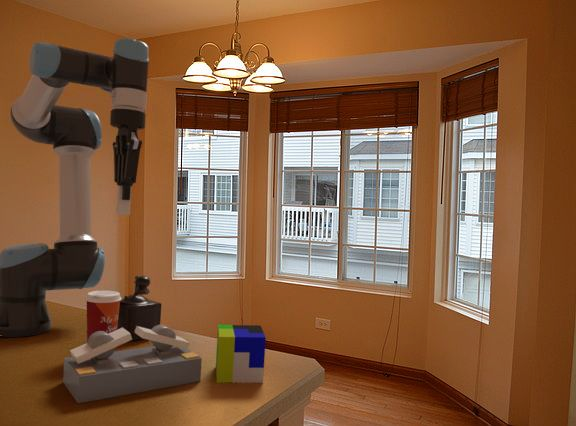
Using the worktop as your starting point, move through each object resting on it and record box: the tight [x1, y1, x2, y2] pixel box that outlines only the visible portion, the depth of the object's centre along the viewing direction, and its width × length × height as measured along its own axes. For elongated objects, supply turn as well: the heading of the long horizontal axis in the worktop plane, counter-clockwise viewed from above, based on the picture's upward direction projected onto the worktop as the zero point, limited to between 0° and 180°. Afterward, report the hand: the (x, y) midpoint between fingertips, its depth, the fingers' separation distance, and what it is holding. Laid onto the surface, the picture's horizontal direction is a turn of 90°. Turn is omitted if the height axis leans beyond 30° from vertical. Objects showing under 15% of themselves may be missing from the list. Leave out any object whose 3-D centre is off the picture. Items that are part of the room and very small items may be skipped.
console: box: [62, 345, 202, 404], centre depth 106 cm, size 12×25×6 cm, turn 126°
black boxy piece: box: [117, 275, 162, 342], centre depth 137 cm, size 16×11×18 cm
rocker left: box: [69, 327, 132, 364], centre depth 103 cm, size 5×11×5 cm, turn 126°
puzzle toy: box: [215, 324, 267, 384], centre depth 114 cm, size 10×10×10 cm
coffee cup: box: [85, 290, 123, 342], centre depth 121 cm, size 8×8×15 cm
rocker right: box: [134, 324, 190, 351], centre depth 110 cm, size 5×11×5 cm, turn 126°
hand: (123, 214), depth 114 cm, fingers closed
